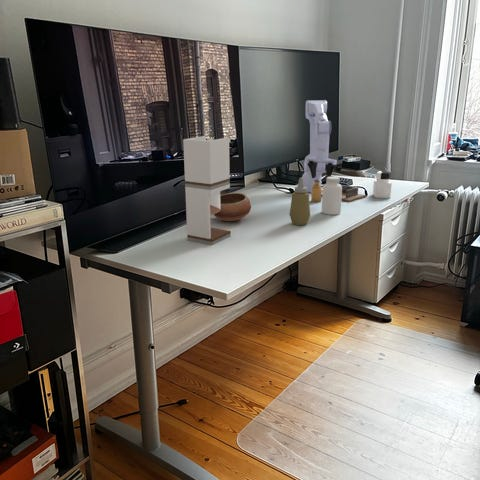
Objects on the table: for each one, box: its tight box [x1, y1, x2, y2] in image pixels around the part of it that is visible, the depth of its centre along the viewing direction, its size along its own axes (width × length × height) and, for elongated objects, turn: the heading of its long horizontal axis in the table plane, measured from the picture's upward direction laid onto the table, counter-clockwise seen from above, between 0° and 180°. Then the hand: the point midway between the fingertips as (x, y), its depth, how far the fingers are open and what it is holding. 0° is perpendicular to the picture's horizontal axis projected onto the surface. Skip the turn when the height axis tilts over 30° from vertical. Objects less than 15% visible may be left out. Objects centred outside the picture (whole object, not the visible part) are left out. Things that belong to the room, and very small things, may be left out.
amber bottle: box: [310, 179, 323, 203], centre depth 223 cm, size 5×5×10 cm
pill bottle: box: [321, 176, 342, 216], centre depth 203 cm, size 8×8×15 cm
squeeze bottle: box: [289, 177, 311, 226], centre depth 187 cm, size 8×8×18 cm
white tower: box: [182, 135, 231, 246], centre depth 168 cm, size 11×11×35 cm
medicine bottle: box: [372, 170, 392, 199], centre depth 232 cm, size 7×7×12 cm
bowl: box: [212, 192, 252, 222], centre depth 194 cm, size 16×16×10 cm
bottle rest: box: [340, 184, 367, 203], centre depth 232 cm, size 16×14×4 cm
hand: (320, 178), depth 222 cm, fingers open, 7 cm apart
